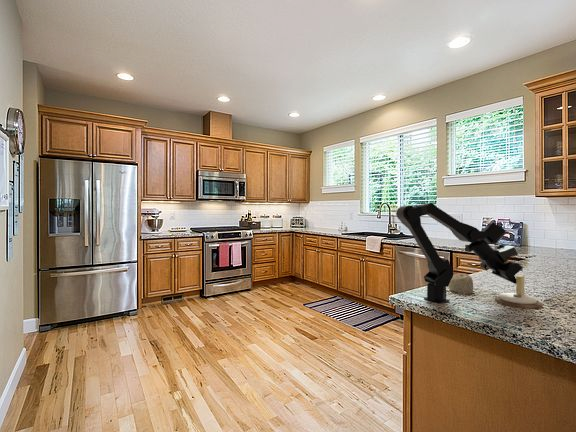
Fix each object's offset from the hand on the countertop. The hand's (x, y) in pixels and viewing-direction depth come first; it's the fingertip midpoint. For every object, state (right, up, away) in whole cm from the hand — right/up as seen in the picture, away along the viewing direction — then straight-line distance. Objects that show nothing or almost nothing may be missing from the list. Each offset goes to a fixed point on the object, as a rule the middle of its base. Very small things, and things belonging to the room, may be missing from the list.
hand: (516, 282), depth 115 cm
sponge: (-12, -7, +15) cm, 21 cm away
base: (-2, -7, -3) cm, 8 cm away
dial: (-1, -6, -3) cm, 7 cm away
